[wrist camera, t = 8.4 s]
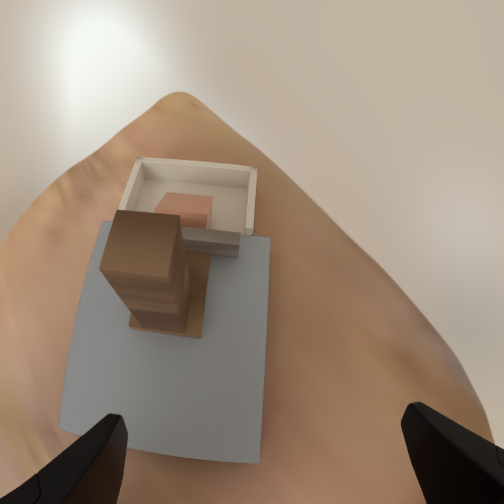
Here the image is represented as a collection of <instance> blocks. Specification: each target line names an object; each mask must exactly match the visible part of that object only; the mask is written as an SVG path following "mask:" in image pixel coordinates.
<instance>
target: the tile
mask: <svg viewBox="0 0 504 504" xmlns="http://www.w3.org/2000/svg"><path fill="white" fill-rule="evenodd" d="M212 205H213V196H204V195H193V194H182V193H171V192H167V193H166V194H165V195H164V197H163V198H162V200H161V201H160V202H159V204H158V205H157V206H156V208H155V209H154V213H162V214H172V215H180V222H181V226H183V227H193V228H202V229H209V225H210V222H211V217H212Z"/></svg>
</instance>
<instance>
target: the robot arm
mask: <svg viewBox="0 0 504 504" xmlns="http://www.w3.org/2000/svg"><path fill="white" fill-rule="evenodd" d="M401 428H402V431H403V435H404V439H405V442H406V446H407V450H408V453H409V457H410V460H411V463H412V466H413V469H414V471H415V474H416V477H417V479H418V482H419V484H420V487H421V490H422V492H423V495H424V498H425V500H426V503H427V504H504V449H502V448H500V447H498V446H495V444H493V443H491V442H489V441H488V440H486V439H484V438H482V437H481V436H479V435H477V434H475V433H473V432H472V431H470V430H468V429H466V428H465V427H463V426H461V425H459V424H458V423H456V422H454V421H453V420H451V419H449V418H447V417H446V416H444V415H442V414H441V413H439V412H437V411H435V410H434V409H432V408H430V407H429V406H427V405H425V404H424V403H422V402H414V403H410V404H409V405H408V406H407V408H406V410H405V413H404V415H403V417H402V420H401ZM127 442H128V431H127V428H126V425H125V422H124V419H123V417H122V415H120V414H114V413H109V414H107V415H106V416H105V417H104V418H102V419H101V420H100V421H99V422H98V423H96V424H95V425H94V426H93V427H92V428H91V429H89V430H88V431H87V432H86V433H85V434H83V435H82V436H81V437H80V438H79V439H77V440H76V441H75V442H74V443H73V444H71V445H70V446H69V447H68V448H67V449H65V450H64V451H63V452H62V453H61V454H59V455H58V456H57V457H56V458H54V459H53V460H52V461H51V462H50V463H48V464H47V465H46V466H45V467H43V468H42V469H41V470H40V471H39V472H38V474H35V475H33V476H32V477H31V478H30V479H28V480H27V481H26V482H24V483H23V484H22V485H20V486H19V487H18V488H16V489H15V490H13V491H11V492H10V493H8V494H7V495H5V496H3V497H2V498H0V504H117V500H118V495H119V491H120V487H121V483H122V479H123V473H124V465H125V457H126V449H127Z"/></svg>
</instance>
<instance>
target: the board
mask: <svg viewBox="0 0 504 504" xmlns="http://www.w3.org/2000/svg"><path fill="white" fill-rule="evenodd" d="M112 223H113V222H112V221H103V222H102V225H101V228H100V231H99V234H98V238H97V241H96V244H95V247H94V251H93V254H92V257H91V261H90V264H89V268H88V271H87V275H86V279H85V282H84V286H83V290H82V294H81V298H80V302H79V306H78V311H77V315H76V320H75V324H74V329H73V334H72V339H71V344H70V349H69V355H68V361H67V367H66V373H65V380H64V387H63V394H62V403H61V412H60V422H59V429H61V430H64V431H67V432H71V433H74V434H77V435H80V436H82V435H83V434H85V433H86V432H87V431H88V430H89V429H91V428H92V427H93V426H94V425H95V424H96V423H98V422H99V421H100V420H101V419H102V418H104V417H105V416H106V415H107V414H109V413H114V414H120V415H122V417H123V419H124V422H125V425H126V428H127V431H128V442H127V448H132V449H136V450H141V451H147V452H152V453H158V454H164V455H170V456H177V457H184V458H192V459H201V460H210V461H222V462H237V463H259V459H260V444H261V428H262V411H263V394H264V375H265V356H266V336H267V314H268V291H269V267H270V240H271V238H270V237H261V236H252V235H243V234H241V237H240V246H239V253H238V258H231V257H221V256H212V255H211V261H210V268H209V276H208V283H207V291H206V299H205V308H204V316H203V325H202V333H201V339H198V338H189V337H181V336H174V335H167V334H159V333H153V332H146V331H140V330H133V329H130V327H129V326H128V325H129V319H130V314H131V312H130V311H129V309H128V308H127V307H126V305H125V304H124V303H123V301H122V300H121V299H120V297H119V296H118V295H117V293H116V292H115V291H114V289H113V288H112V287H111V285H110V284H109V282H108V281H107V280H106V278H105V277H104V275H103V274H102V272H101V271H100V270H99V266H100V263H101V259H102V256H103V252H104V249H105V246H106V242H107V239H108V236H109V232H110V229H111V226H112Z"/></svg>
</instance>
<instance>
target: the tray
mask: <svg viewBox="0 0 504 504" xmlns="http://www.w3.org/2000/svg"><path fill="white" fill-rule="evenodd" d="M256 181H257V167H251V166H242V165H233V164H224V163H213V162H202V161H190V160H177V159H162V158H144V157H137V159H136V162H135V164H134V167H133V169H132V172H131V175H130V177H129V180H128V183H127V185H126V188H125V191H124V194H123V197H122V200H121V202H120V205H119V208H118V210H128V211H140V212H151V213H154V209H155V208H156V206H157V205H158V204H159V202H160V201H161V200H162V198H163V197H164V195H165V194H166V193H167V192H171V193H182V194H193V195H204V196H213V205H212V217H211V222H210V225H209V229H212V230H221V231H231V232H240V233H241V234H243V235H252V232H253V225H254V211H255V196H256Z"/></svg>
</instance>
